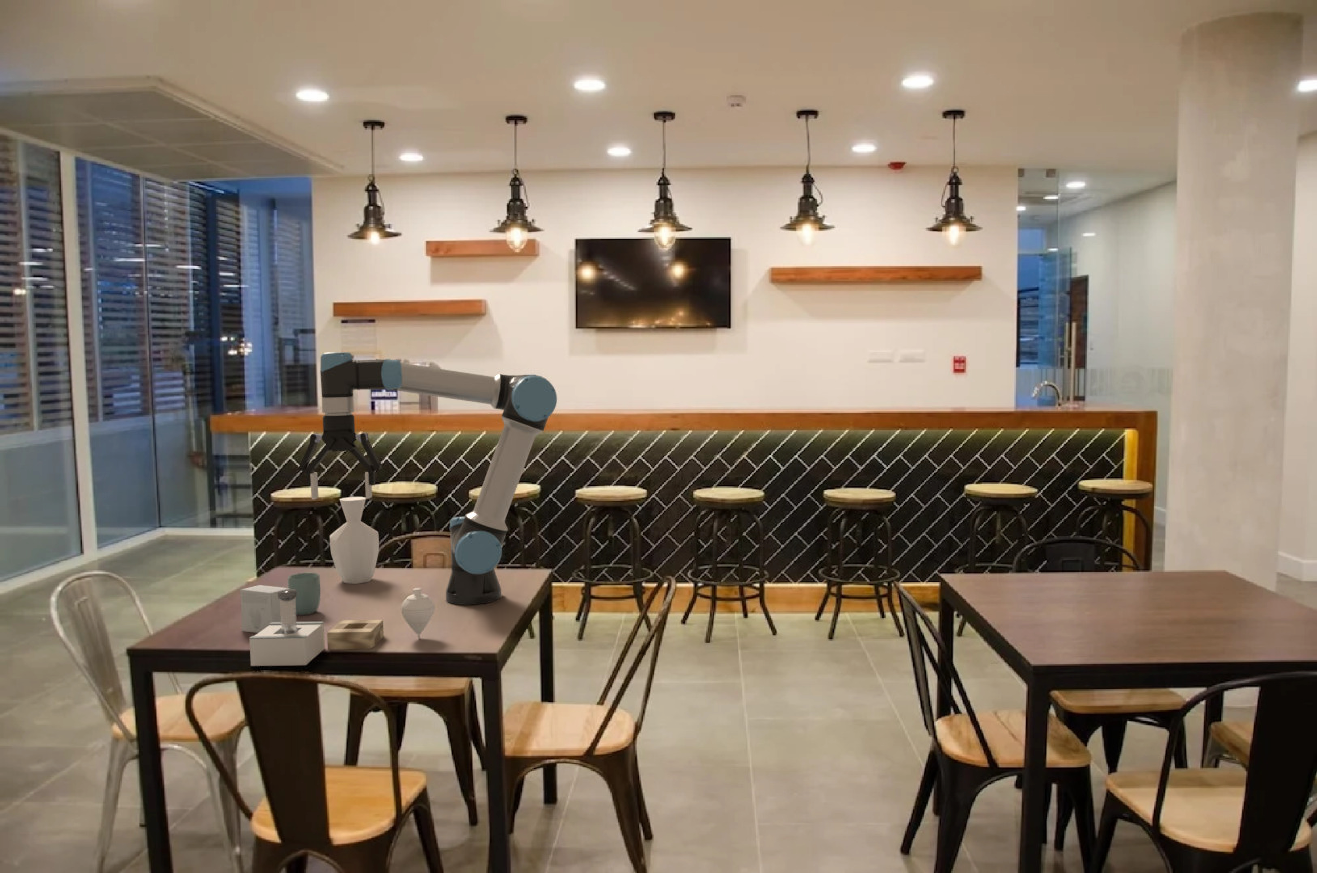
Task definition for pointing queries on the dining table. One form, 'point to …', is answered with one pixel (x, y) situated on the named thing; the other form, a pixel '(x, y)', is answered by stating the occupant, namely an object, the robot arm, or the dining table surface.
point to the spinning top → (417, 610)
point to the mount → (355, 634)
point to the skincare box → (260, 607)
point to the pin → (288, 611)
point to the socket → (287, 645)
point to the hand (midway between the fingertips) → (342, 498)
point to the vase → (354, 544)
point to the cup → (306, 592)
